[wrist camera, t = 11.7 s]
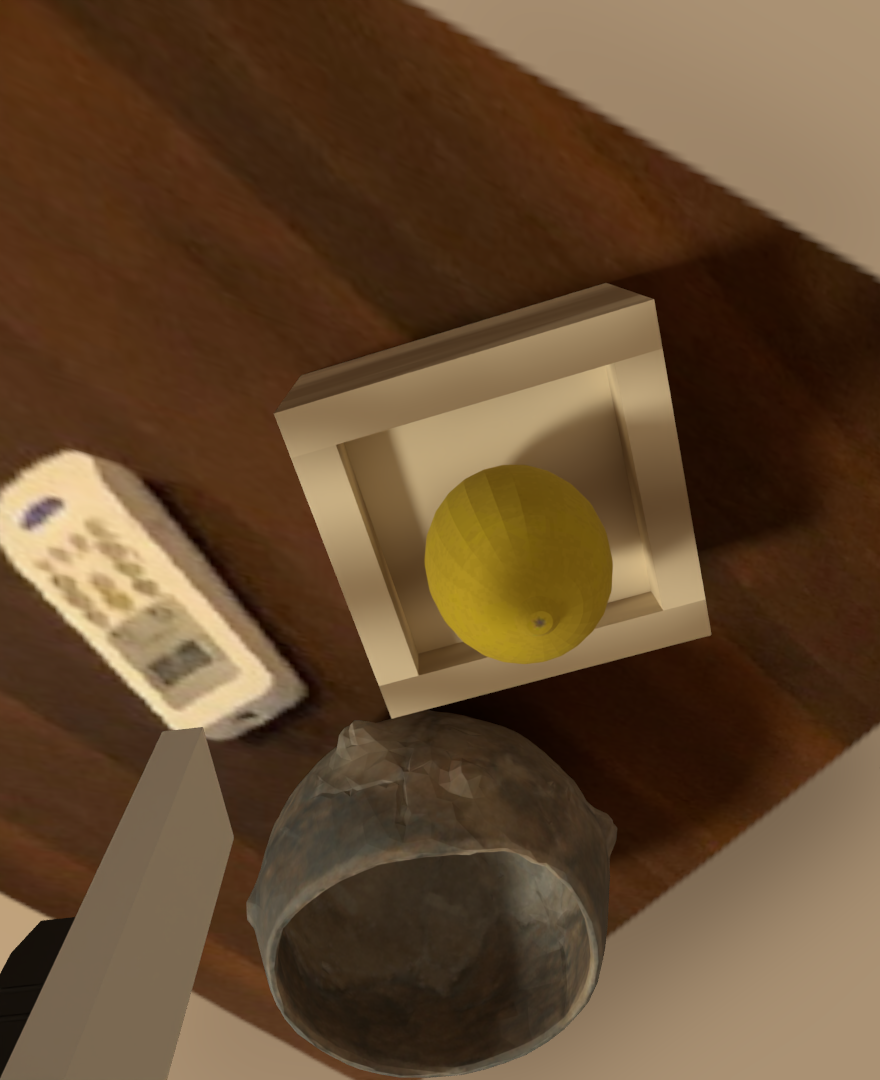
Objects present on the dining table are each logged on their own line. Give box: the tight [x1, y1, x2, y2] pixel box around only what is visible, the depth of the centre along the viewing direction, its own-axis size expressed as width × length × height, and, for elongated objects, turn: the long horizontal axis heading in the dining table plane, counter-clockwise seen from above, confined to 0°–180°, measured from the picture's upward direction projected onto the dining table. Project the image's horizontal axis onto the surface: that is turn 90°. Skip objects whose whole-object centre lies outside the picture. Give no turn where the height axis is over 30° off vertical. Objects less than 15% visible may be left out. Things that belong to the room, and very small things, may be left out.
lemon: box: [425, 465, 613, 664], centre depth 23 cm, size 6×6×8 cm
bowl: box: [247, 710, 617, 1078], centre depth 33 cm, size 14×15×10 cm
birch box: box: [274, 283, 711, 719], centre depth 28 cm, size 12×12×6 cm
